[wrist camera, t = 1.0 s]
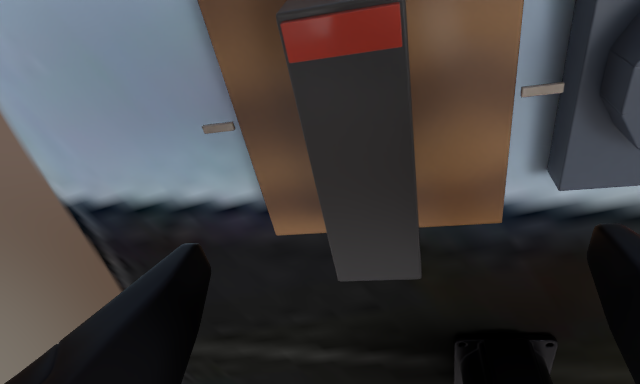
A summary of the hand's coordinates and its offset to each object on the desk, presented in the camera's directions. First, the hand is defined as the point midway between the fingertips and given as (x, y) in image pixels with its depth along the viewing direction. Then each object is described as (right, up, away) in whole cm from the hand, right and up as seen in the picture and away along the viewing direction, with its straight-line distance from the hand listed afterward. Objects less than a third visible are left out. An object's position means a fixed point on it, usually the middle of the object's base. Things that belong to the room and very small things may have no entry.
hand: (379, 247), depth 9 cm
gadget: (0, +5, +7) cm, 8 cm away
